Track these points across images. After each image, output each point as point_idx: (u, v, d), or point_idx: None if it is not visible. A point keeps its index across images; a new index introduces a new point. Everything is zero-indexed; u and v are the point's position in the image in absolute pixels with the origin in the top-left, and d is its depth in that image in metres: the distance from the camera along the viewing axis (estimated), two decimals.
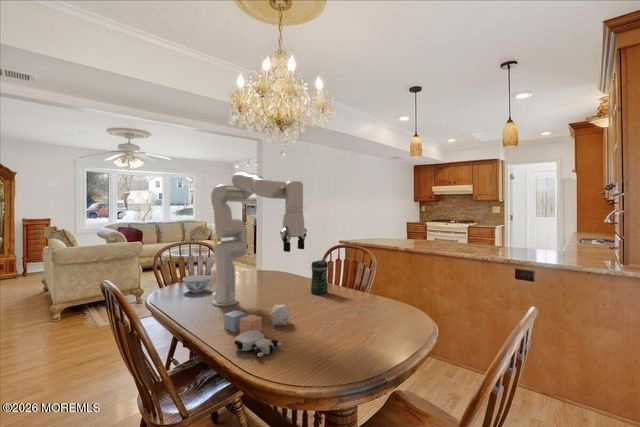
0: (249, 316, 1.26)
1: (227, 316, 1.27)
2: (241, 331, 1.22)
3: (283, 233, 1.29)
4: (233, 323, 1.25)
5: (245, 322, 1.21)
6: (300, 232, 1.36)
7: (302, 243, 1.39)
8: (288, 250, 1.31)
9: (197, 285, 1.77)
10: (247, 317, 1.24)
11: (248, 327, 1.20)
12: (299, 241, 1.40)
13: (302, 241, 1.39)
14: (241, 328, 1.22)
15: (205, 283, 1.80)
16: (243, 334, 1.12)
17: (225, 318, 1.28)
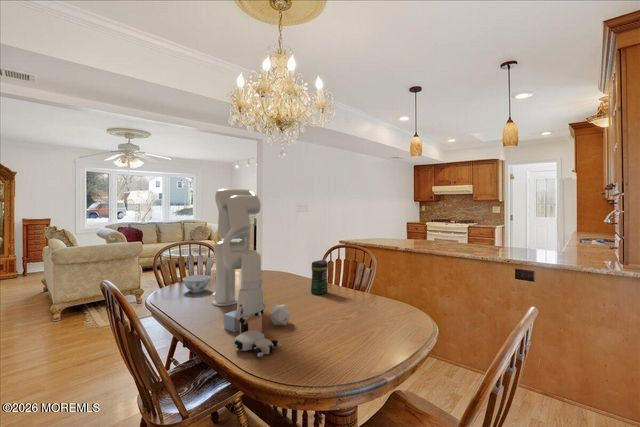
0: (249, 316, 1.26)
1: (227, 316, 1.27)
2: None
3: (238, 316, 1.18)
4: (233, 323, 1.25)
5: None
6: (257, 308, 1.24)
7: None
8: None
9: (197, 285, 1.77)
10: None
11: (248, 327, 1.20)
12: None
13: None
14: None
15: (205, 283, 1.80)
16: (243, 334, 1.12)
17: (225, 318, 1.28)
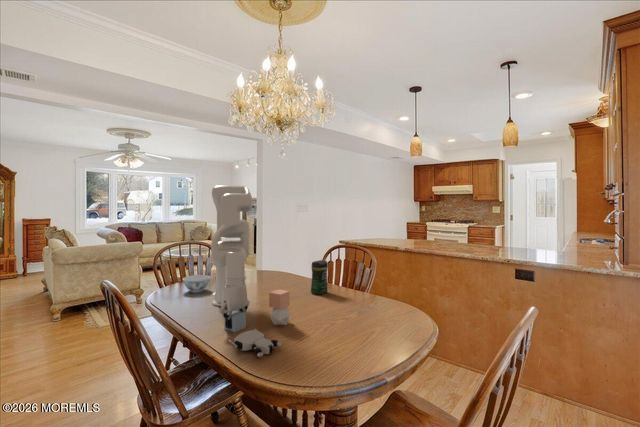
0: (277, 290, 1.35)
1: None
2: (271, 304, 1.32)
3: (222, 312, 1.23)
4: (233, 323, 1.25)
5: (275, 295, 1.31)
6: (241, 304, 1.29)
7: None
8: (229, 327, 1.25)
9: (197, 285, 1.77)
10: (276, 291, 1.34)
11: (278, 299, 1.30)
12: None
13: None
14: (271, 301, 1.32)
15: (205, 283, 1.80)
16: (243, 334, 1.12)
17: None
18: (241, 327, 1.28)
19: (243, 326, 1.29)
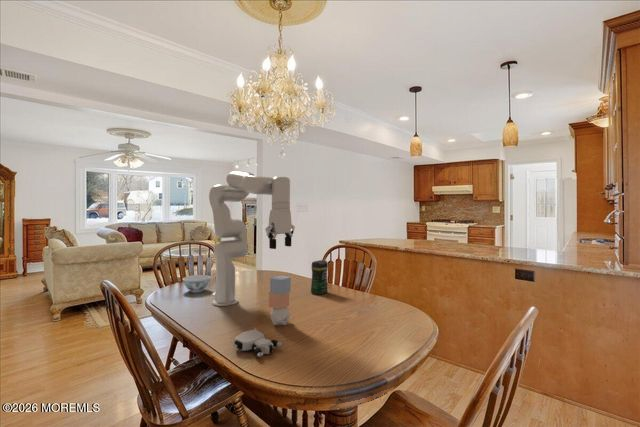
0: None
1: (273, 280, 1.31)
2: (270, 304, 1.32)
3: (268, 230, 1.26)
4: (280, 286, 1.29)
5: (275, 295, 1.30)
6: (287, 229, 1.33)
7: (289, 240, 1.36)
8: (274, 247, 1.28)
9: (197, 285, 1.77)
10: None
11: (278, 299, 1.30)
12: (286, 238, 1.37)
13: (289, 238, 1.36)
14: (270, 301, 1.32)
15: (205, 283, 1.80)
16: (243, 334, 1.12)
17: (271, 282, 1.32)
18: (287, 290, 1.32)
19: (288, 290, 1.33)
